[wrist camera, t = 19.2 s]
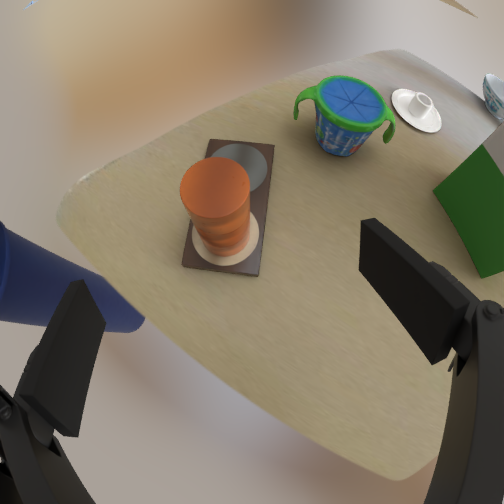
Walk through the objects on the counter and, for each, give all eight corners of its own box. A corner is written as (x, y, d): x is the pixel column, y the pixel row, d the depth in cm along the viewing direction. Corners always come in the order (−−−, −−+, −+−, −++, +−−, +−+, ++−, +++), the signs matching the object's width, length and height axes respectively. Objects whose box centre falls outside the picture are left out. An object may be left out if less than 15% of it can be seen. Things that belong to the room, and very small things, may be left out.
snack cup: (282, 148, 43) (289, 104, 33) (298, 105, 46) (306, 62, 36) (376, 180, 42) (403, 144, 32) (381, 134, 45) (403, 96, 35)
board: (183, 266, 38) (180, 264, 37) (210, 143, 44) (209, 138, 42) (258, 277, 38) (258, 275, 37) (274, 149, 43) (274, 144, 42)
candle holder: (392, 83, 49) (398, 70, 45) (439, 107, 48) (447, 95, 44) (388, 117, 46) (396, 102, 42) (440, 144, 45) (450, 131, 41)
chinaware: (518, 137, 48) (532, 123, 41) (486, 123, 48) (502, 106, 41) (498, 98, 52) (509, 84, 45) (465, 83, 52) (477, 66, 45)
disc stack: (197, 253, 37) (172, 214, 25) (205, 208, 39) (188, 154, 27) (246, 259, 37) (244, 222, 25) (252, 213, 39) (254, 159, 26)
